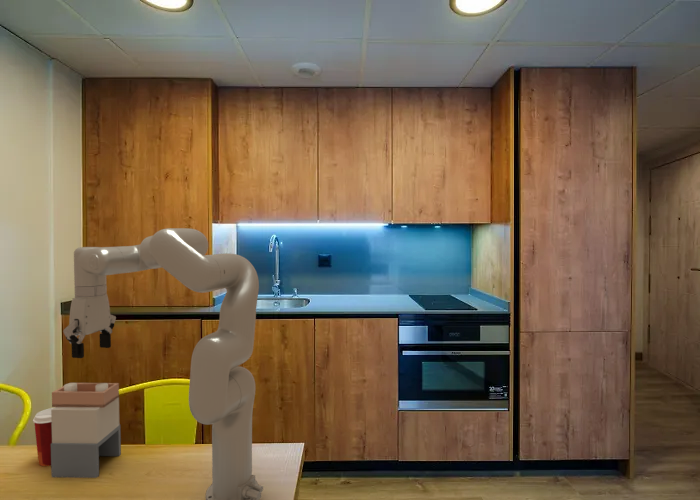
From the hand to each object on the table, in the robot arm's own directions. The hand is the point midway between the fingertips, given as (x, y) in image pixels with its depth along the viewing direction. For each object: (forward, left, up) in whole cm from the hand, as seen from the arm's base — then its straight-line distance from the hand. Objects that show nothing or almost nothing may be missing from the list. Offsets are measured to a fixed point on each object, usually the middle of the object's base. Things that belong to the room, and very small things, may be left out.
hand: (92, 352), depth 115 cm
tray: (0, +2, -13) cm, 13 cm away
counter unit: (0, +2, -31) cm, 31 cm away
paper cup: (+11, +5, -32) cm, 34 cm away
